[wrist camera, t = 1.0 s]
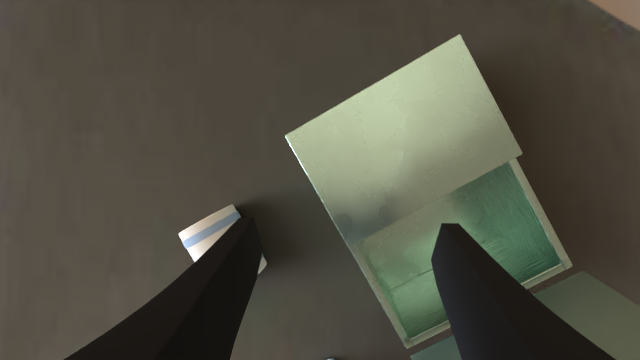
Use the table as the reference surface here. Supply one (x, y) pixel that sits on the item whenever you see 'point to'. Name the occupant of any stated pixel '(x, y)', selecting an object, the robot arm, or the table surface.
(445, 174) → the green lidded box
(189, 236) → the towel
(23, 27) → the table surface
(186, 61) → the table surface
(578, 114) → the table surface
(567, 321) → the green flat panel
